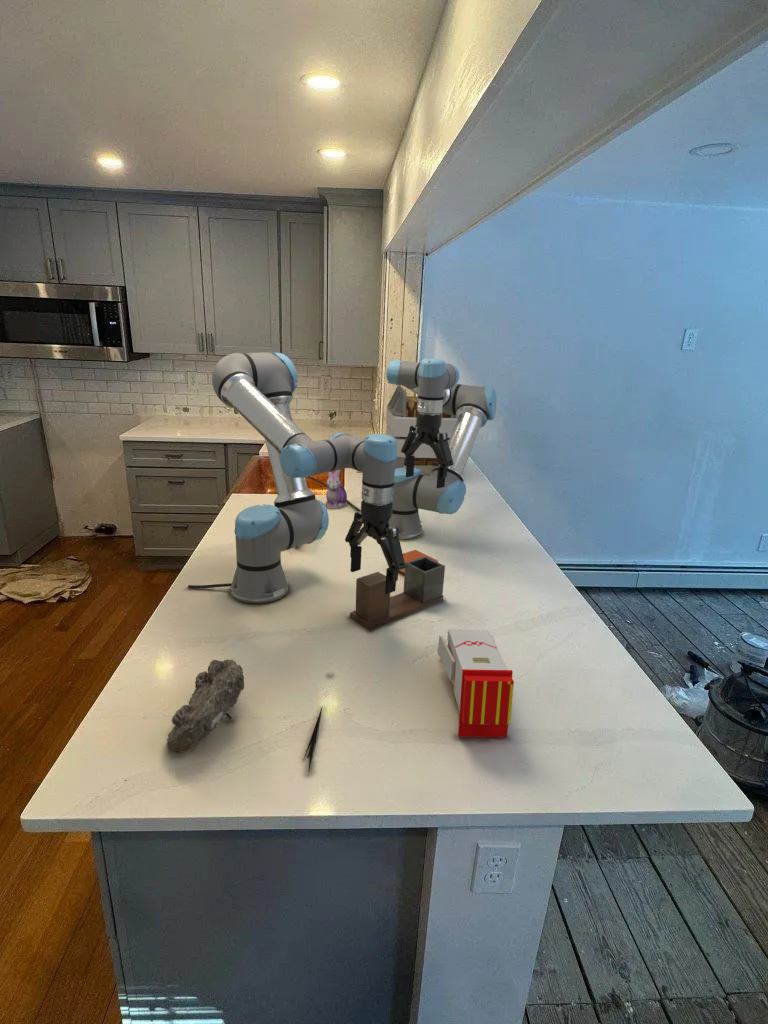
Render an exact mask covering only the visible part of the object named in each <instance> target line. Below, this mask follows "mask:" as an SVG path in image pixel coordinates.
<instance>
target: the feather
mask: <svg viewBox="0 0 768 1024" xmlns="http://www.w3.org/2000/svg"><path fill="white" fill-rule="evenodd" d="M329 675H330V676H331V675H332V674H331V673H330V674H329ZM322 710H323V707H321V708H320V710H319V713H318V716H317V719H316V723H315V725H314V728H313V731H312V733H311V737H310V739H309V742H308V745H307V748H306V751H305V754H304V757H303V760H302V763H301V767H302V765H303V763H304V761H305V758H308V759H309V760H308V762H307V763H308V764H307V766H308V771H310V770H311V766H312V765H311V764H312V760H313V757H315V756H314V755H315V751H316V749H315V746H317V739H318V733H319V729H320V722H321V717H322V712H323V711H322ZM313 754H314V755H313ZM306 755H307V757H306Z"/></svg>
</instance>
